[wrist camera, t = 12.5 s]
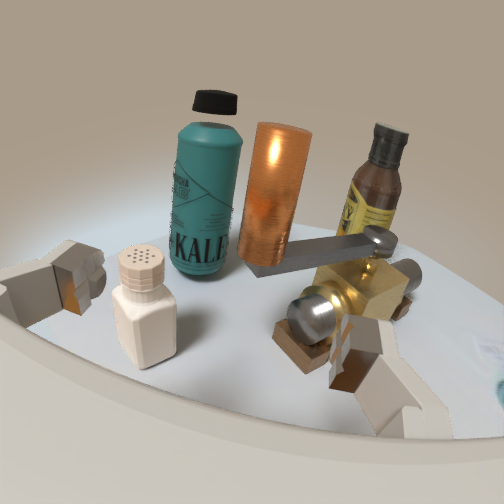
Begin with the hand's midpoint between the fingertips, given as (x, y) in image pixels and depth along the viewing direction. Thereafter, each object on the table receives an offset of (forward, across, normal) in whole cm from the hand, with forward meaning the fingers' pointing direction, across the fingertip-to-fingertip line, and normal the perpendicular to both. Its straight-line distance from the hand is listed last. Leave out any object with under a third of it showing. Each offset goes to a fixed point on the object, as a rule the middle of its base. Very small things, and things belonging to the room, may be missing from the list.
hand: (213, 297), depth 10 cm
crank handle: (+14, +5, -5) cm, 16 cm away
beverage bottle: (+22, -7, -15) cm, 27 cm away
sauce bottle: (+30, +11, -15) cm, 35 cm away
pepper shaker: (+9, -7, -15) cm, 19 cm away
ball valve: (+19, +11, -15) cm, 26 cm away
